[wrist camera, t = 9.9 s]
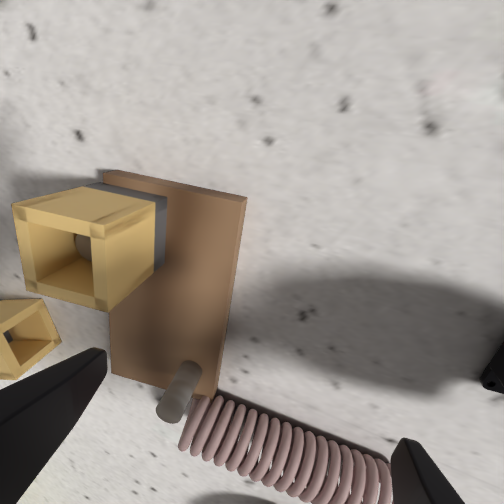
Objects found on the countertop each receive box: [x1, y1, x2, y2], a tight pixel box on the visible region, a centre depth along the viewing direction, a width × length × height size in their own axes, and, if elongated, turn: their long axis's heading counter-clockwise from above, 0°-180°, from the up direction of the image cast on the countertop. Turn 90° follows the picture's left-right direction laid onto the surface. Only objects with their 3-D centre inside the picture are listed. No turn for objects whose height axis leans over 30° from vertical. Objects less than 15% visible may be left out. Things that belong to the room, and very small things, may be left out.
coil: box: [178, 396, 394, 504], centre depth 24 cm, size 5×5×18 cm
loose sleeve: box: [11, 182, 167, 313], centre depth 17 cm, size 5×5×6 cm
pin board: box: [75, 170, 247, 424], centre depth 20 cm, size 9×17×6 cm, turn 171°
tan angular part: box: [0, 299, 61, 380], centre depth 25 cm, size 5×5×6 cm
